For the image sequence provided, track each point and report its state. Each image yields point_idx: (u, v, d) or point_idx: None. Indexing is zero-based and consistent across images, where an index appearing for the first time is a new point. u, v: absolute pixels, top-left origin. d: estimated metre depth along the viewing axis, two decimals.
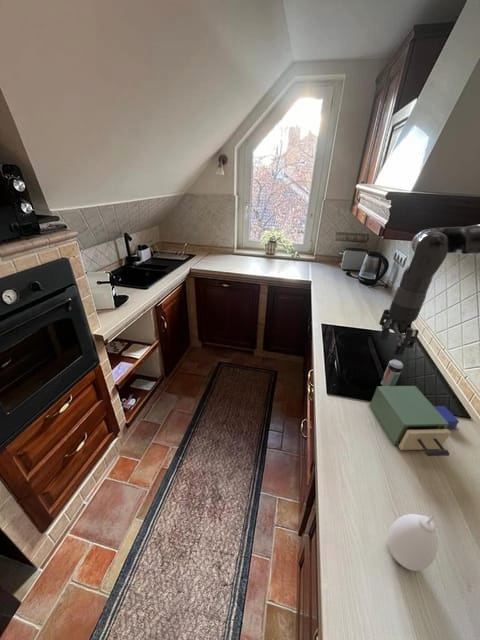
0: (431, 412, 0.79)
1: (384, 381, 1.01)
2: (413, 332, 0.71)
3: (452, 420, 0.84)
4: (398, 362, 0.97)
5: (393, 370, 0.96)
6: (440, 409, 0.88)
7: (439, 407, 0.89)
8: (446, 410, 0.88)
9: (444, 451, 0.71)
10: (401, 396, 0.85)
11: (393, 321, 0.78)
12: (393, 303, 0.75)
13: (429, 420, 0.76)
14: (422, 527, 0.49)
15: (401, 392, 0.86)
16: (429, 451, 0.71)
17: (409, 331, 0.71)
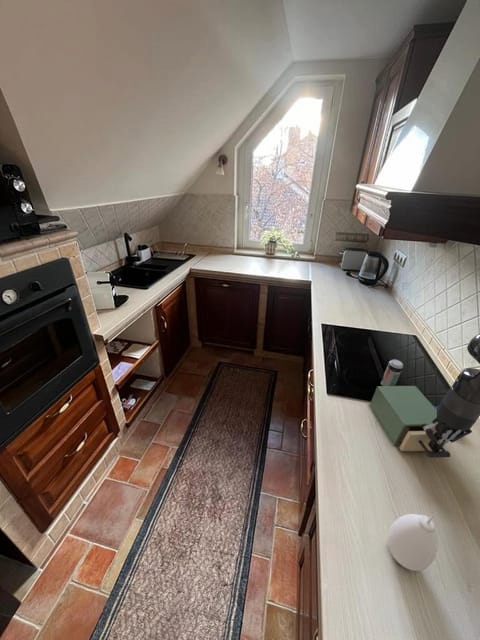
0: (431, 412, 0.79)
1: (384, 381, 1.01)
2: (423, 428, 0.68)
3: None
4: (398, 362, 0.97)
5: (393, 370, 0.96)
6: None
7: None
8: None
9: (445, 452, 0.71)
10: (401, 396, 0.85)
11: None
12: None
13: (429, 420, 0.76)
14: (422, 527, 0.49)
15: (401, 392, 0.86)
16: (430, 452, 0.71)
17: None
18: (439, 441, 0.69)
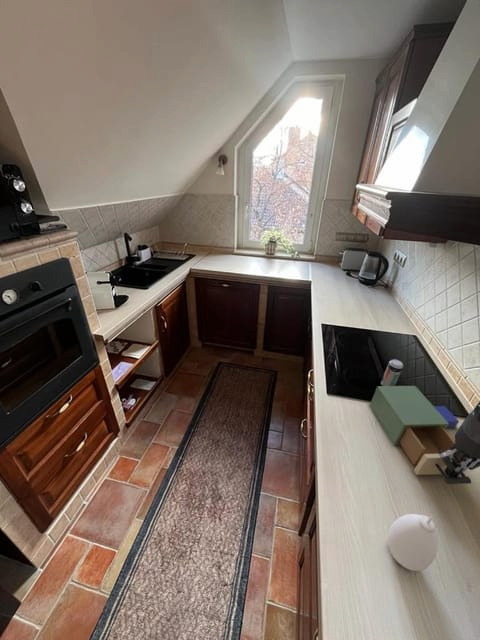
0: (431, 412, 0.79)
1: (384, 381, 1.01)
2: (440, 455, 0.63)
3: (452, 420, 0.84)
4: (398, 362, 0.97)
5: (393, 370, 0.96)
6: (440, 409, 0.88)
7: (439, 407, 0.89)
8: (446, 410, 0.88)
9: (465, 478, 0.65)
10: (401, 396, 0.85)
11: None
12: None
13: (429, 420, 0.76)
14: (422, 527, 0.49)
15: (401, 392, 0.86)
16: (449, 479, 0.65)
17: (439, 451, 0.64)
18: (457, 469, 0.64)
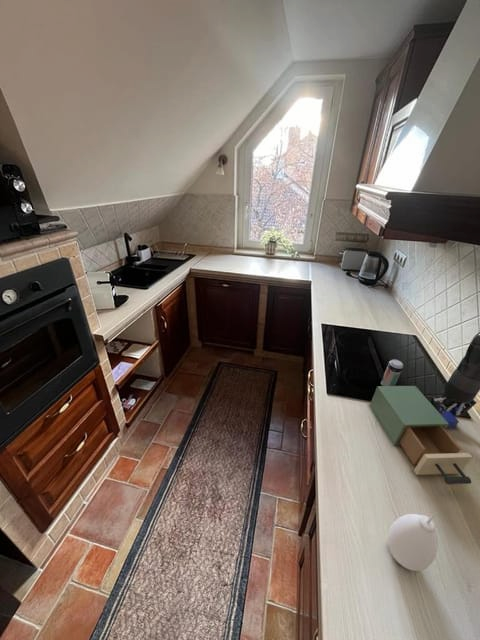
0: (431, 412, 0.79)
1: (384, 381, 1.01)
2: (433, 400, 0.84)
3: (452, 420, 0.84)
4: (398, 362, 0.97)
5: (393, 370, 0.96)
6: (440, 409, 0.88)
7: None
8: None
9: (466, 479, 0.65)
10: (401, 396, 0.85)
11: None
12: None
13: (429, 420, 0.76)
14: (422, 527, 0.49)
15: (401, 392, 0.86)
16: (449, 479, 0.65)
17: None
18: (441, 413, 0.85)
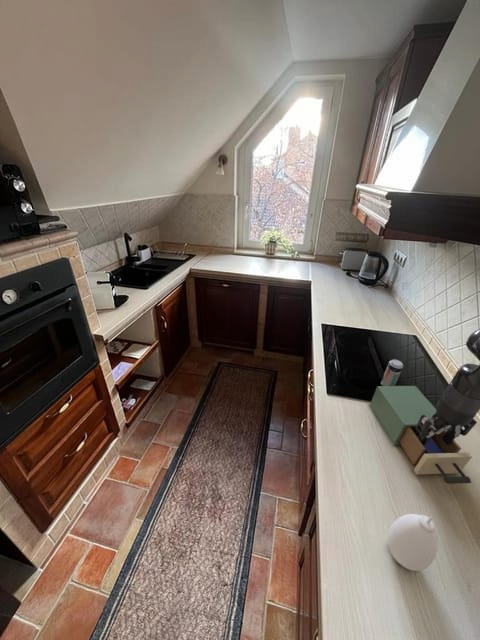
0: (431, 412, 0.79)
1: (384, 381, 1.01)
2: (423, 419, 0.68)
3: None
4: (398, 362, 0.97)
5: (393, 370, 0.96)
6: None
7: None
8: (431, 442, 0.75)
9: (465, 478, 0.65)
10: (401, 396, 0.85)
11: None
12: None
13: None
14: (422, 527, 0.49)
15: (401, 392, 0.86)
16: (449, 478, 0.65)
17: (422, 415, 0.69)
18: (429, 435, 0.69)
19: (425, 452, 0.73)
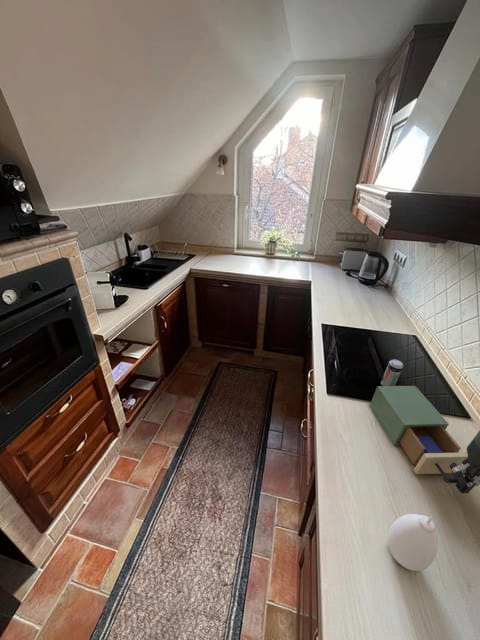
0: (431, 412, 0.79)
1: (384, 381, 1.01)
2: (452, 470, 0.60)
3: None
4: (398, 362, 0.97)
5: (393, 370, 0.96)
6: (424, 440, 0.75)
7: (423, 437, 0.76)
8: (431, 441, 0.75)
9: None
10: (401, 396, 0.85)
11: None
12: None
13: (429, 420, 0.76)
14: (422, 527, 0.49)
15: (401, 392, 0.86)
16: (449, 478, 0.65)
17: (450, 465, 0.61)
18: (469, 484, 0.61)
19: (425, 452, 0.73)
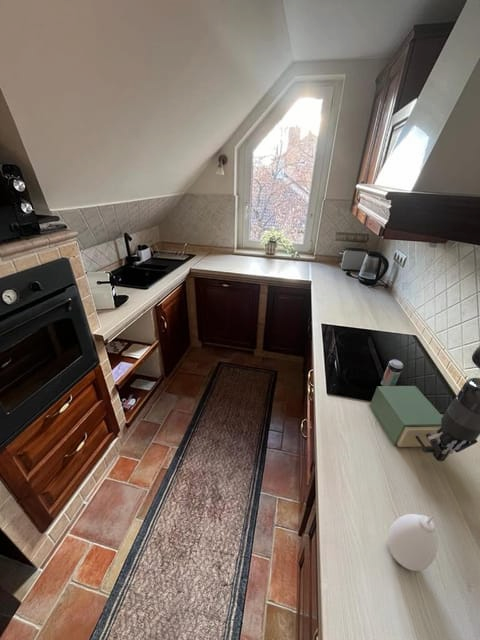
0: (431, 412, 0.79)
1: (384, 381, 1.01)
2: (428, 438, 0.67)
3: None
4: (398, 362, 0.97)
5: (393, 370, 0.96)
6: None
7: None
8: None
9: None
10: (401, 396, 0.85)
11: None
12: None
13: (429, 420, 0.76)
14: (422, 527, 0.49)
15: (401, 392, 0.86)
16: (427, 448, 0.72)
17: (426, 434, 0.68)
18: (444, 451, 0.68)
19: None
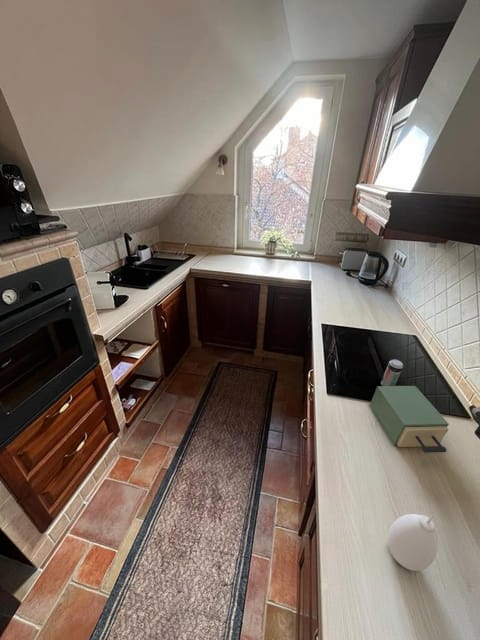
0: (431, 412, 0.79)
1: (384, 381, 1.01)
2: (472, 411, 0.55)
3: None
4: (398, 362, 0.97)
5: (393, 370, 0.96)
6: None
7: None
8: None
9: (441, 448, 0.72)
10: (401, 396, 0.85)
11: None
12: None
13: (429, 420, 0.76)
14: (422, 527, 0.49)
15: (401, 392, 0.86)
16: (427, 448, 0.72)
17: (470, 406, 0.56)
18: None
19: None
